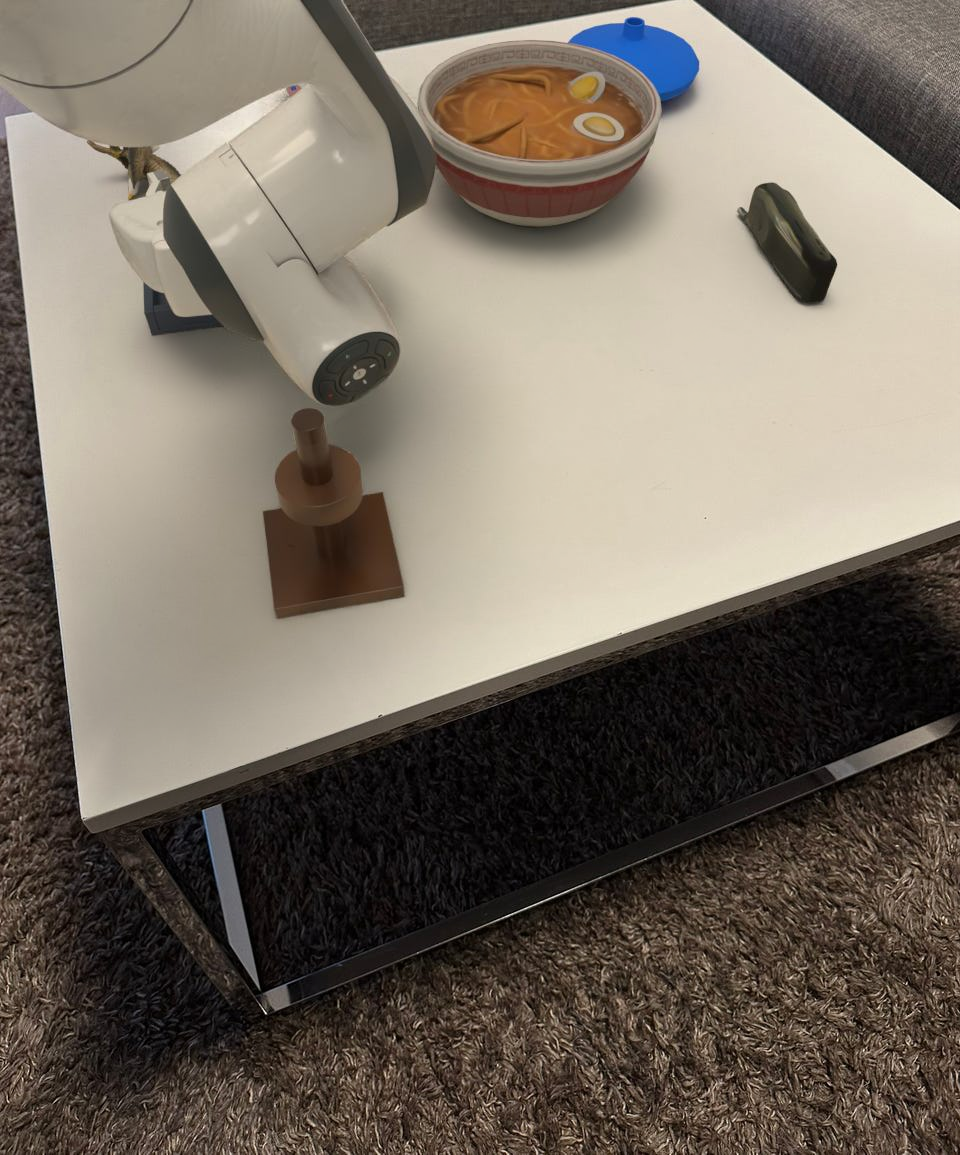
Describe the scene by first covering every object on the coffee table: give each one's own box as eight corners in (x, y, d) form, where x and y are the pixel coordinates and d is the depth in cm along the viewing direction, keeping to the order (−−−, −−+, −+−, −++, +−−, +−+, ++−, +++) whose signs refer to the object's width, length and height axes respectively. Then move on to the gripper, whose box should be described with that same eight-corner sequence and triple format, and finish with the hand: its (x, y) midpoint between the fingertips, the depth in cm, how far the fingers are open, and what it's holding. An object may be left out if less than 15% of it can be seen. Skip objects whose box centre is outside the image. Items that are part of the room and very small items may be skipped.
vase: (606, 135, 104) (614, 69, 98) (532, 71, 112) (536, 7, 106) (722, 101, 109) (736, 36, 103) (643, 42, 117) (652, -21, 111)
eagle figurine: (80, 183, 95) (122, 206, 90) (90, 107, 93) (135, 126, 88) (150, 199, 101) (194, 221, 96) (162, 128, 98) (208, 146, 93)
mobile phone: (846, 259, 84) (770, 164, 92) (816, 265, 83) (742, 168, 91) (828, 305, 88) (757, 209, 96) (798, 310, 87) (729, 214, 95)
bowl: (669, 158, 102) (686, 62, 93) (612, 285, 89) (627, 186, 81) (467, 117, 106) (467, 22, 98) (385, 232, 93) (378, 133, 85)
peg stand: (277, 619, 66) (238, 484, 55) (265, 521, 72) (227, 379, 60) (404, 596, 68) (392, 460, 56) (384, 502, 73) (369, 360, 62)
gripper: (390, 179, 75) (319, 99, 82) (134, 253, 69) (81, 159, 76) (395, 249, 80) (327, 168, 87) (156, 324, 74) (104, 230, 81)
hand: (210, 164), depth 81 cm, fingers open, 8 cm apart
